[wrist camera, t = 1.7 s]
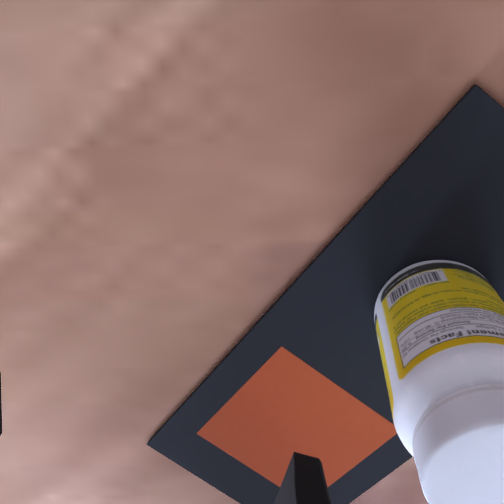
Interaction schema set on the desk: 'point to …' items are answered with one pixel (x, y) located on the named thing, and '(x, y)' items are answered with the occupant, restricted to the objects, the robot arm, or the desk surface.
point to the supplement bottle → (446, 377)
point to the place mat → (345, 327)
